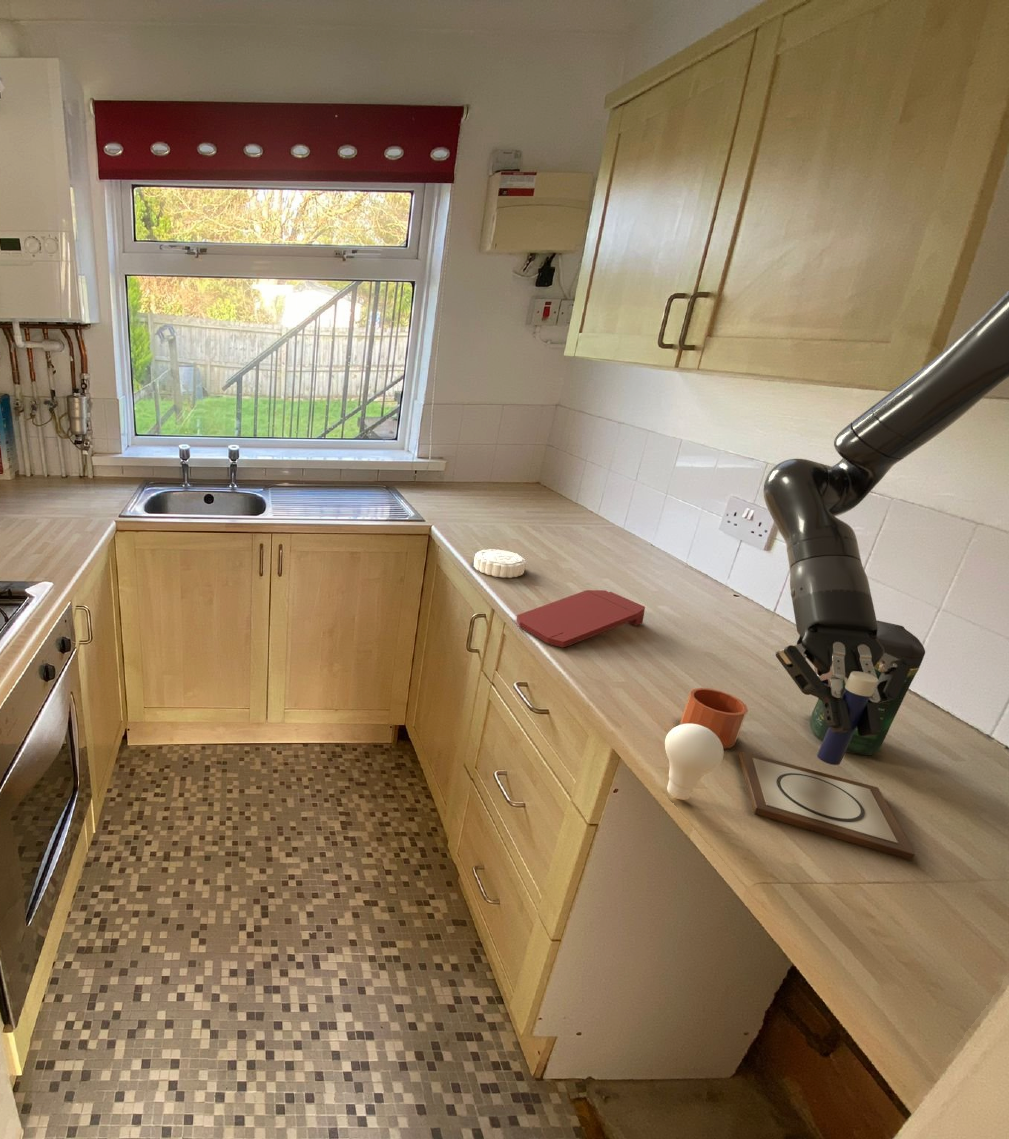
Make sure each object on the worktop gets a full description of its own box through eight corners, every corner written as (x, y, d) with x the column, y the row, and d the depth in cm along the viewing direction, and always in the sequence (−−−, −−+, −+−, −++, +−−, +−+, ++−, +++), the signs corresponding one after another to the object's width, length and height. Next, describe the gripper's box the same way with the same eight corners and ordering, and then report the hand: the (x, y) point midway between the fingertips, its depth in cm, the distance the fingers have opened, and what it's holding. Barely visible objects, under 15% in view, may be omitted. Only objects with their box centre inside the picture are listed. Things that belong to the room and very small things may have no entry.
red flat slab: (556, 665, 120) (651, 627, 128) (558, 643, 118) (654, 606, 126) (510, 637, 131) (600, 603, 138) (511, 616, 129) (603, 583, 136)
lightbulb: (678, 779, 86) (701, 711, 82) (716, 811, 80) (742, 741, 76) (639, 783, 85) (660, 716, 80) (674, 816, 79) (699, 745, 75)
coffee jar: (882, 764, 89) (937, 650, 82) (810, 743, 93) (857, 633, 86) (872, 731, 96) (922, 624, 89) (805, 713, 101) (848, 609, 94)
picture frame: (875, 793, 84) (879, 785, 83) (911, 861, 73) (916, 852, 73) (738, 756, 90) (741, 749, 90) (753, 813, 80) (757, 806, 79)
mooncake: (529, 579, 151) (531, 566, 150) (477, 576, 153) (479, 562, 151) (517, 562, 162) (520, 549, 161) (469, 558, 164) (472, 546, 162)
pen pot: (731, 729, 96) (743, 696, 94) (738, 754, 91) (751, 720, 88) (677, 715, 100) (688, 683, 97) (681, 739, 94) (692, 705, 92)
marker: (838, 757, 78) (874, 674, 74) (843, 768, 76) (881, 683, 72) (813, 751, 79) (848, 669, 75) (818, 761, 77) (854, 678, 73)
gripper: (785, 581, 78) (807, 719, 72) (918, 593, 75) (953, 738, 69) (752, 602, 85) (769, 730, 79) (873, 614, 82) (901, 748, 76)
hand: (855, 733), depth 74 cm, fingers closed on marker, 2 cm apart
